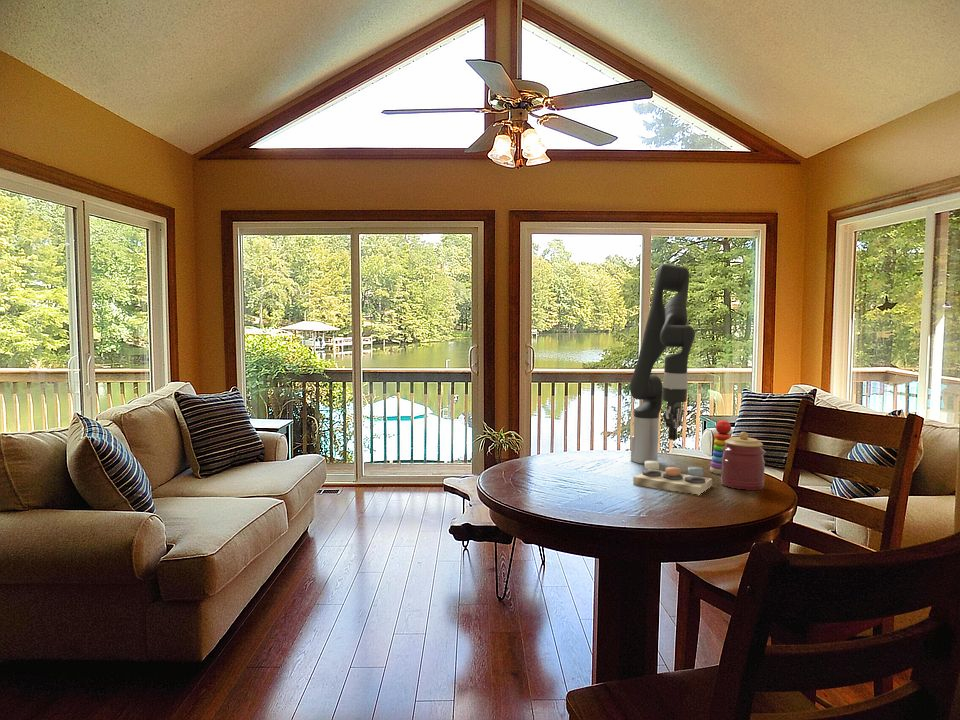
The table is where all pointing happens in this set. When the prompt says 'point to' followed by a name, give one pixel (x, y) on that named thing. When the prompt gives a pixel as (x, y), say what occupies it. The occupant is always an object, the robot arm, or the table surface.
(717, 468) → the stacking toy
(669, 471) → the terracotta button
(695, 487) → the button panel
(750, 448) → the canister
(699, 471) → the slate button
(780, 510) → the table surface
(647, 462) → the ivory button
